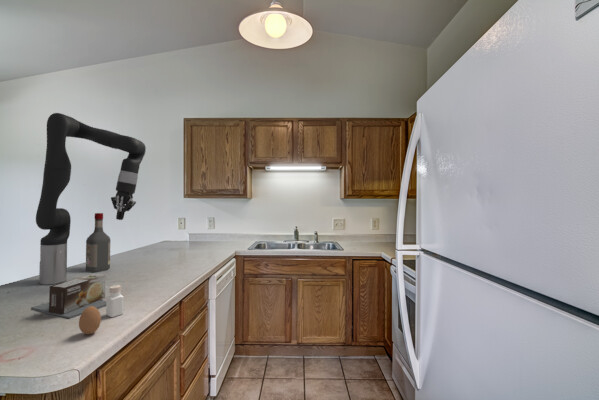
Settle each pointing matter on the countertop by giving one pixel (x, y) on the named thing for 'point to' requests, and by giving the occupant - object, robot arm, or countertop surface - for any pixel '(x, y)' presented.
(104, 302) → the mat
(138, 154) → the robot arm
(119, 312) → the salt shaker
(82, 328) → the egg
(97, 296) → the coffee box
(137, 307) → the countertop surface
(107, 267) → the liquor
